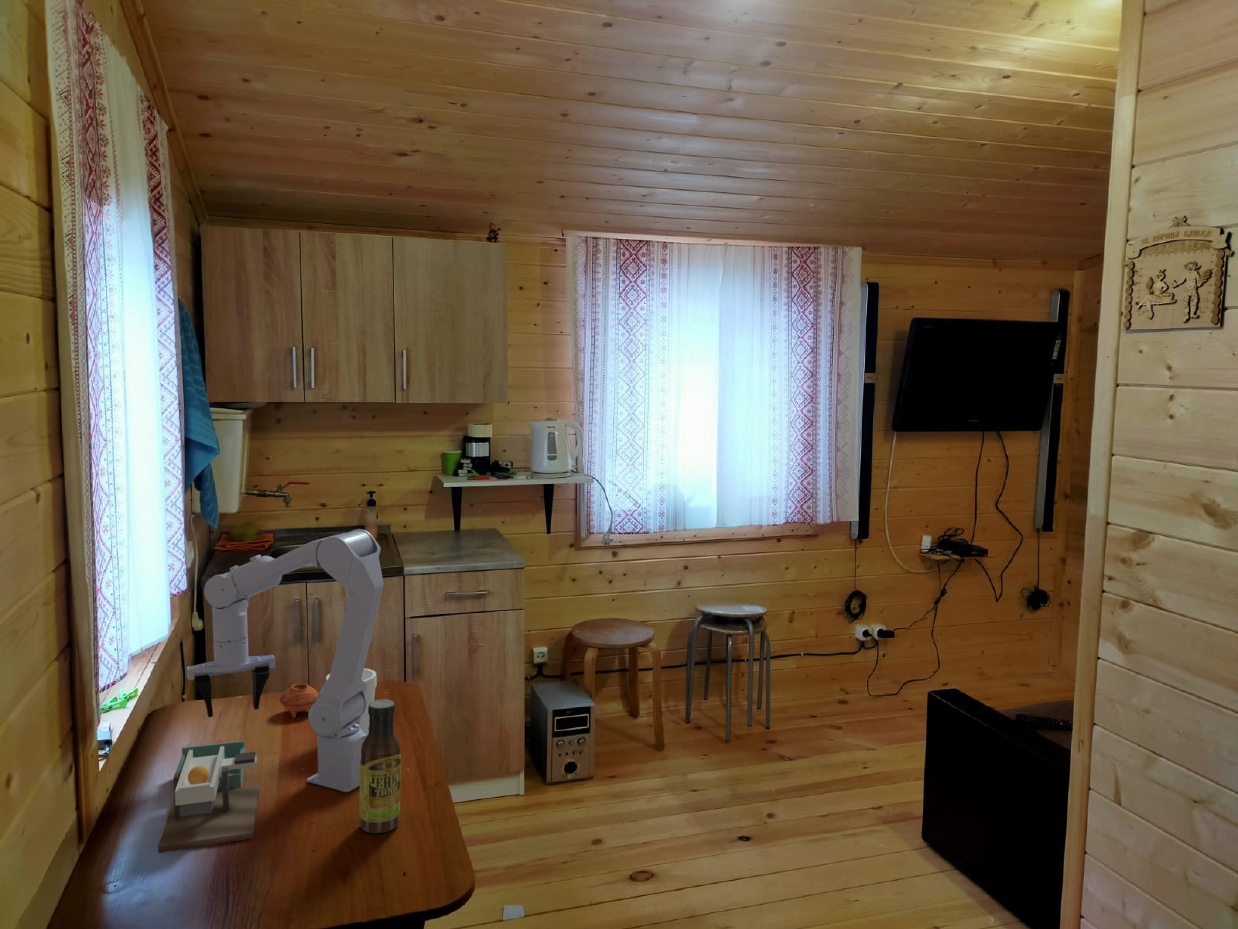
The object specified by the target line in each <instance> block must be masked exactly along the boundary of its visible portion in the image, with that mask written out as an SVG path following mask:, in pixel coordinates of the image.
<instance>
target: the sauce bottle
mask: <svg viewBox="0 0 1238 929" xmlns="http://www.w3.org/2000/svg"><path fill="white" fill-rule="evenodd" d="M395 711H396V703H395V701H393V700H390V699H385V698H384V699H376V700H374V701H373V702H371V703H370V704H369V707H368V713H369V728H368V729H369V734H368V735H367V737H366V738H365V740H364V742H363V743H362V747H361V761H360V786H359V810H358V811H359V815H358V816H359V826H360V829H361V830H363V831H364V832H366V833H370V834H381V833H386V832H389V831H391V830H394V829H395V828H396V827H398V825H399V822H400V813H401V774H402V772H401V770H402V769H401V768H402V766H401V765H402V764H401V763H402V756H401V743H400V739H399V738H398V736H397V735H396V733H395V726H394V720H395V719H394V717H395V716H394V714H395Z"/></svg>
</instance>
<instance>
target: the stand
mask: <svg viewBox="0 0 1238 929" xmlns="http://www.w3.org/2000/svg"><path fill="white" fill-rule="evenodd" d="M172 778H173V779H172V783H173V800H172V803H171V805H170V809H169V812H168V815H167V817H166V820H165V824H164V827H163V830H162V833H161V836H160V837H159V838H160V839H159V842H158V845H157V853H158V852H159V853H163V852H164V853H165V852H171V851H178V850H185V849H192V848H199V847H207V846H213V845H219V843H221V844H226V843H225V842H228V843H234V842H233V841H235V842H237V841H236V840H242V841H244V840H243V839H249V840H253V838H254V833H253V832H255V825H254V824H256V823H255V822H256V818H255V816H256V817H257V810H256V808H257V809H258V803H257V801H259V795H258V794H259V793H260V785H250V786H244V787H243V786H242V788H234V789H229V776H228V767H225V768H223V769H222V790H218V791H217V793H216V797H215V801H214V805H213V810H212V813H204V814H197V815H189V816H182V817H180V805H177V806H175V790H176V787H177V784H178V781H179V778H180V773H176V772H175V773H174V775H173V777H172ZM231 841H232V842H231Z"/></svg>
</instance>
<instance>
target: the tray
mask: <svg viewBox="0 0 1238 929" xmlns="http://www.w3.org/2000/svg"><path fill="white" fill-rule="evenodd" d="M257 761H258V755H257V754H256V751H252V752H251V751H250V752H245V753H240V754H236V757H235V758H226V759H225V756H224V746H221V747H220V750H219V754H218V755H213V756H204V757H195V758H193V750H189V751H188V754H187V757H186V760H185V763H184V766H183V769H182V772H181V775H180V778H179V781H178V784H177V787H176V790H175V806H177V805H180V817H182V816H189V815H197V814H204V813H212V810H213V805H214V801H215V797H216V793H217V789H218V785H219V780H220V776H221V772H222V769H223V768H225V767H228V770H233V769H241V768H245V769H249V768H256V767H257ZM196 766H203V767H205V768H206V769H207V770H208V772H209V778H208V780H207V781H206V783H202V784H193V785H191V784H190V783H189V781H188V774H189V772H190V770H191V769H192V768H194V767H196Z"/></svg>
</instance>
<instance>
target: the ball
mask: <svg viewBox="0 0 1238 929" xmlns="http://www.w3.org/2000/svg"><path fill="white" fill-rule="evenodd" d="M208 778H209V772H208V770H207V769H206V768H205V767H203V766H196V767H194V768H192V769H191V770H190V772H189V774H188V781H189V783H190V784H191V785H193V784H202V783H206V781H207V780H208Z"/></svg>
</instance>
